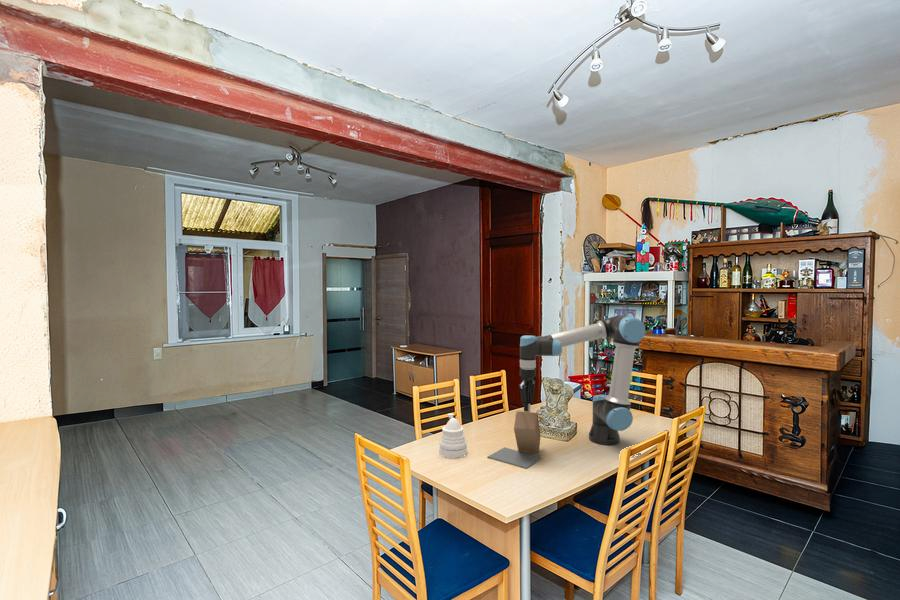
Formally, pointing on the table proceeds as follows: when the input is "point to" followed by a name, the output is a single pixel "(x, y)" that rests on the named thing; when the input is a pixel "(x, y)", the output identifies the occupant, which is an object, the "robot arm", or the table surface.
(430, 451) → the table surface
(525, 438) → the wooden block
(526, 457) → the mat
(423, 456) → the table surface
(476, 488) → the table surface
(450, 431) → the honey pot
